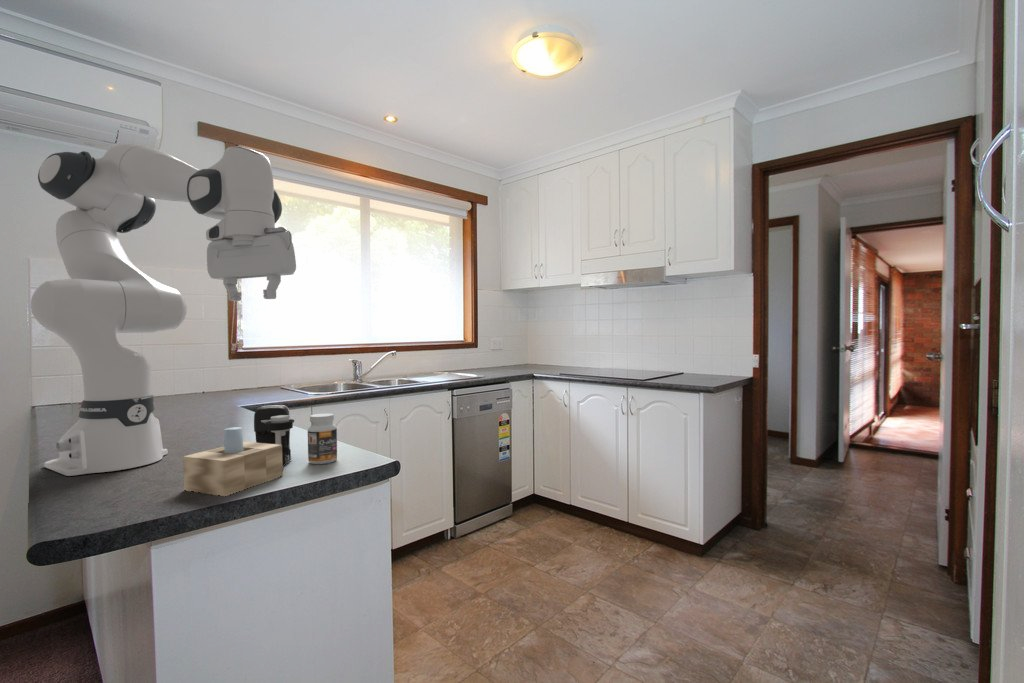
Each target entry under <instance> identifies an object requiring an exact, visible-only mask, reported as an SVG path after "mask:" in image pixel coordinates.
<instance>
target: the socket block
mask: <svg viewBox="0 0 1024 683" xmlns="http://www.w3.org/2000/svg"><path fill="white" fill-rule="evenodd" d="M182 457H183V458H182V460H183V462H182V463H183V466H182V467H183V491H184V490H186V492H191V491H194V492H193V493H198V492H201V493H200V494H205V493H206V494H205V495H211V494H212V496H218V495H220V496H219V497H225V496H226V497H228V496H230V494H231V495H234V494H236V492H237V493H240V492H243V491H244V489H245V490H248V489H250V487H251V488H253V486H254V487H256V486H255V485H257V486H258V484H259V485H262V484H265V483H268V482H270V480H271V481H273V480H276V479H278V478H277V477H279V478H281V477H280V476H282V477H283V476H284V466H283V462H282V445H278V444H266V443H256V441H255V442H253V441H252V442H251V441H244V440H243V452H239V453H236V454H225V453H224V445H223V446H220V447H216V448H212V449H207V450H204V451H199V452H195V453H192V454H188V455H184V456H182ZM275 478H276V479H275ZM272 479H273V480H272ZM267 481H268V482H267ZM264 482H265V483H264ZM261 483H262V484H261ZM247 488H248V489H247ZM239 491H240V492H239ZM233 493H234V494H233Z"/></svg>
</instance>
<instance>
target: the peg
mask: <svg viewBox="0 0 1024 683" xmlns="http://www.w3.org/2000/svg"><path fill="white" fill-rule="evenodd" d="M243 441H244V427H241V426H239V427H238V426H236V427H235V426H233V427H227V428H224V429H223V446H224V453H225V454H236V453H239V452H243Z"/></svg>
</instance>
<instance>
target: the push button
mask: <svg viewBox="0 0 1024 683" xmlns="http://www.w3.org/2000/svg"><path fill="white" fill-rule="evenodd" d="M294 423H295V419H293V418H292V419H291V417H290V418H289V415H278V416H272V417H271V420H270V421H268V422H266V425H268V430H270V431H271V432H274V433H275V441H276V442H275V444H278V445H282V462H283V465H284V464H285V463H286V462H287V463H286V464H290V462H291V461H292V457H291V456H292V454H291V453H292V452H291V451H292V450H291V448H290V449H289V445H287V441H286V432H285V431H289V430H290V431H291V429H293V428H294V426H293V424H294ZM290 460H291V461H290ZM286 464H285V465H286ZM285 465H284V466H285Z"/></svg>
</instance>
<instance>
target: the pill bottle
mask: <svg viewBox="0 0 1024 683" xmlns="http://www.w3.org/2000/svg"><path fill="white" fill-rule="evenodd" d="M334 418H335V416H334V413H327V412H326V413H316V414H311V415H310V416H309V422H310V423H311V424H310V425H309V427H308V428H307V457H308V458H307V460H308V463H310V464H311V465H327V464H331V463H334V462H336V461H337V458H338V438H337V437H338V434H337V433H338V432H337V431H338V429H337V425H336V424H335V423H334V422H333V421H334V420H335V419H334Z"/></svg>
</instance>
